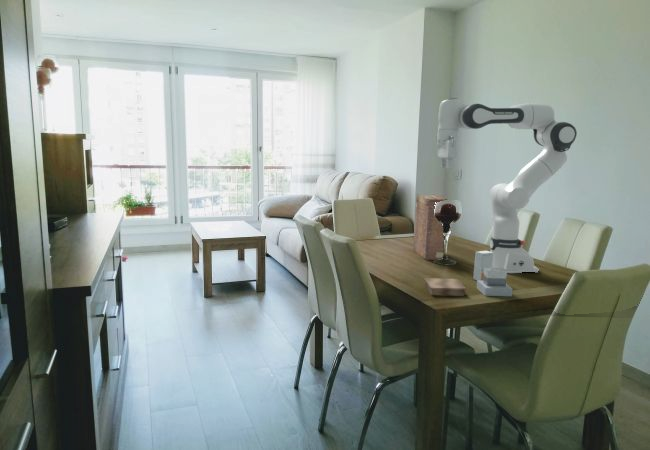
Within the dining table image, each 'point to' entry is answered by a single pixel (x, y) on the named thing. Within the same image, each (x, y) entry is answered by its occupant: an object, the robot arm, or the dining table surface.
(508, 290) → the grey stand
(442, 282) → the tan flat square slab
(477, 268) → the skincare box
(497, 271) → the block
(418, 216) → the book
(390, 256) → the dining table surface
